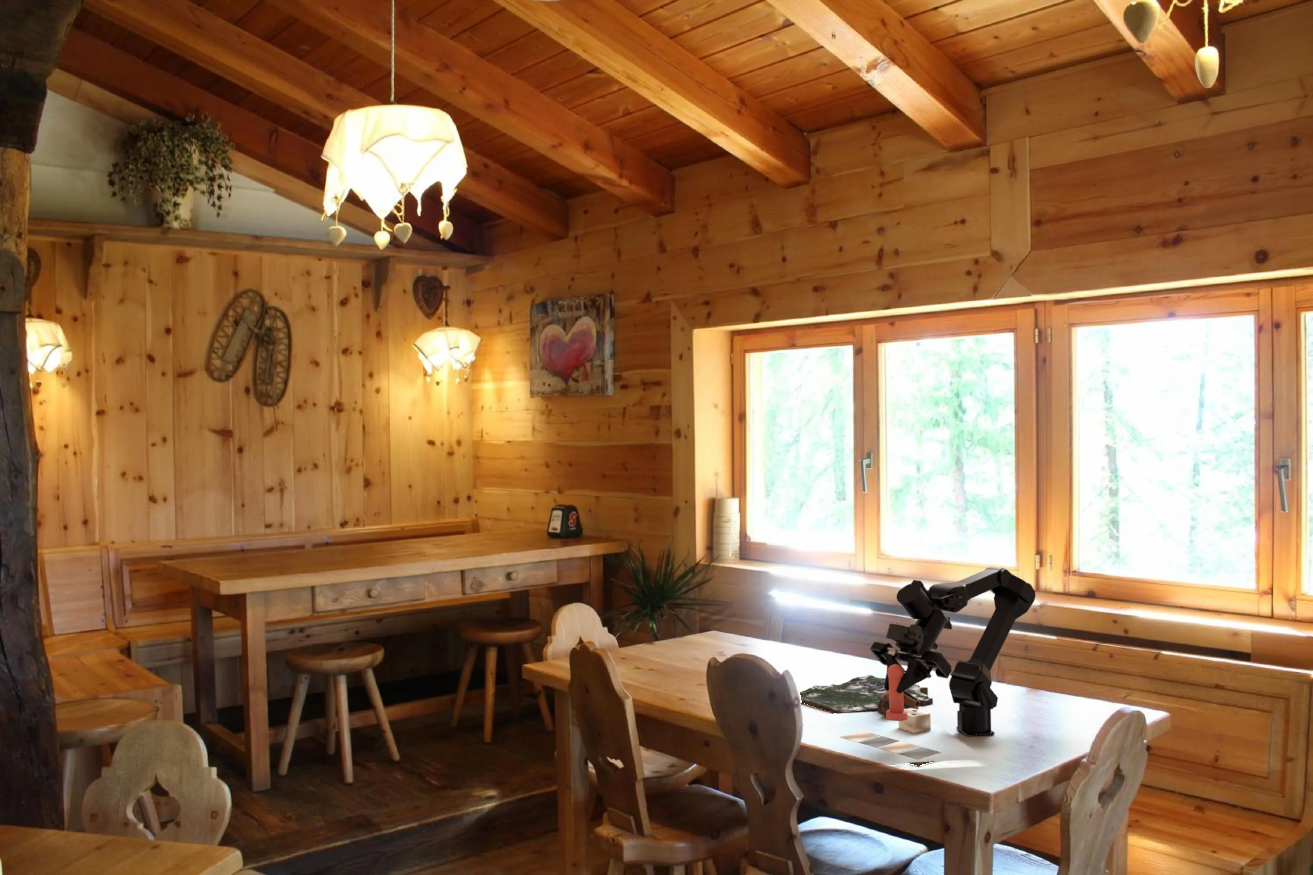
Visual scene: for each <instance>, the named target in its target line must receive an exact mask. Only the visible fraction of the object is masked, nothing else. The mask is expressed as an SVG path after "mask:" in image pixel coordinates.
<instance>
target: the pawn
mask: <svg viewBox="0 0 1313 875" xmlns="http://www.w3.org/2000/svg"><path fill="white" fill-rule="evenodd" d="M901 666H902V665H901ZM901 666H900V665H897V664H894V665H891V666H890V667H889V668H888V670H887V669H886V672H887V675H888V677H889V710H887V711H886V716H885V717H886V718H885V719H887V720H888V721H893V722H899V721H904V720H907V711H906V710H905V708H904V695H903V692H902V693H900V694H899V693H898V692H897V691H896V690H897V687H898V685H899V683H900V681H901V679H902V677H903V675H904V670H905V669H903V668H904V667H903V666H902V667H903V668H902V667H901Z"/></svg>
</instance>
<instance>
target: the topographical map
mask: <svg viewBox="0 0 1313 875" xmlns="http://www.w3.org/2000/svg"><path fill="white" fill-rule="evenodd" d="M885 679H886V677H883V678H882V677H876V676H874V675H873V674H867V675H864V676H856V677H854V678H852V679H850V680H849V681H847V682H843V683H841V684H833V683H832V684H830V685H813V686H812V687H809V688H807V689H805V690H802V691H799V692H800V695H801V700H802V705H804V703H805V704H806V705H805V706H808V705H810V706H809V707H811V706H814V707H816V708H815V709H817V708H819V709H818V710H821V709H822V710H821V711H824V710H826V711H825V712H827V711H830V712H829V713H831V712H833V713H832V714H834V713H836V714H835V715H838V714H856V713H859V714H860V713H878V712H877V708H878V704H879V701H880V699H881V697H882V696H883V695H884V693H886V692H887V690H885V688H884V685H885ZM888 691H889V690H888ZM905 691H906V692H907V693H909V694H911V695H912V696H913V697H915V698H916V699H917V700H918V701H919V702H920V704H919V705H918V707H925V706H930V704H931V705H933V704H934V700H933V697H931V698H930V697H929V688H928V687H927V686H925V687H922V686H920V685H918V684H915V685H913V686H911V687H910V688H908V689H907V690H905ZM807 704H808V705H807ZM814 707H813V708H814ZM909 708H911V707H910V706H909V705H906V704H905V703H904V709H909Z"/></svg>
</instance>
